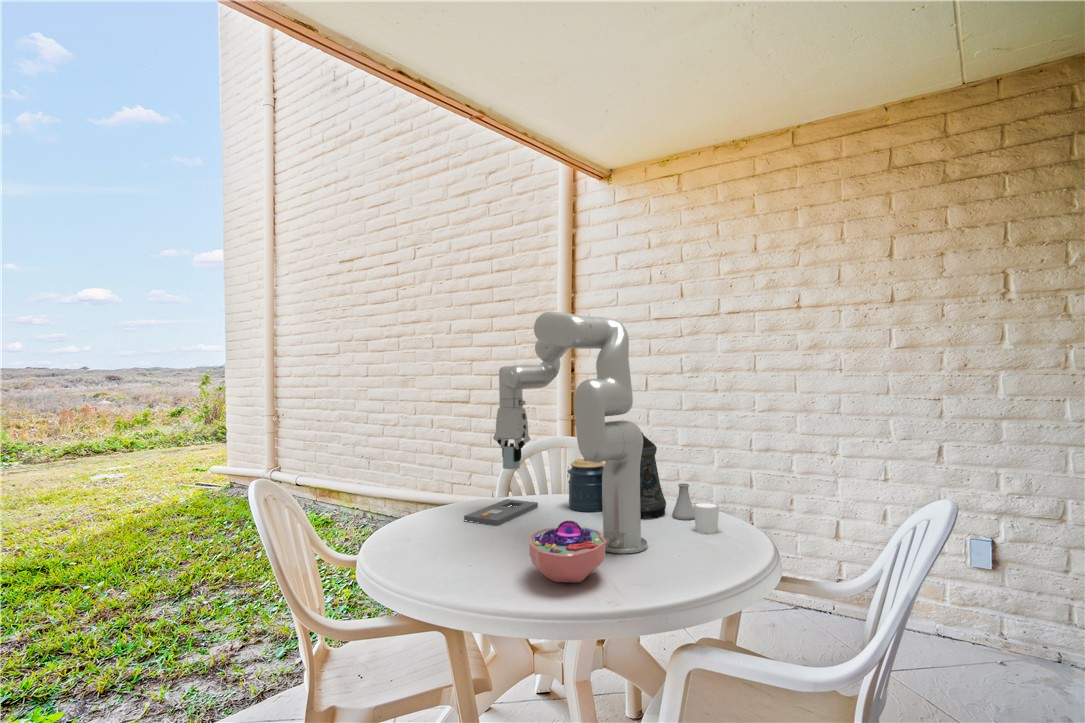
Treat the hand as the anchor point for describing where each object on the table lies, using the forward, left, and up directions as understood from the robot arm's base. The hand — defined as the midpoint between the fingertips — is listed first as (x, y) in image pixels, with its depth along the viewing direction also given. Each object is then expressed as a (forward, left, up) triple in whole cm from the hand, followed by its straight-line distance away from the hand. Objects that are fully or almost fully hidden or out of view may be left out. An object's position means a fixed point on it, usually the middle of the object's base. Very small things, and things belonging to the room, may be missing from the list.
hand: (511, 460), depth 179 cm
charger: (-1, 0, -3) cm, 3 cm away
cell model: (-45, -42, -16) cm, 64 cm away
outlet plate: (-6, 0, -16) cm, 17 cm away
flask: (+14, -52, -16) cm, 56 cm away
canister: (+13, -21, -16) cm, 30 cm away
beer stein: (+12, -38, -16) cm, 43 cm away
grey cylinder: (+3, -61, -16) cm, 63 cm away
